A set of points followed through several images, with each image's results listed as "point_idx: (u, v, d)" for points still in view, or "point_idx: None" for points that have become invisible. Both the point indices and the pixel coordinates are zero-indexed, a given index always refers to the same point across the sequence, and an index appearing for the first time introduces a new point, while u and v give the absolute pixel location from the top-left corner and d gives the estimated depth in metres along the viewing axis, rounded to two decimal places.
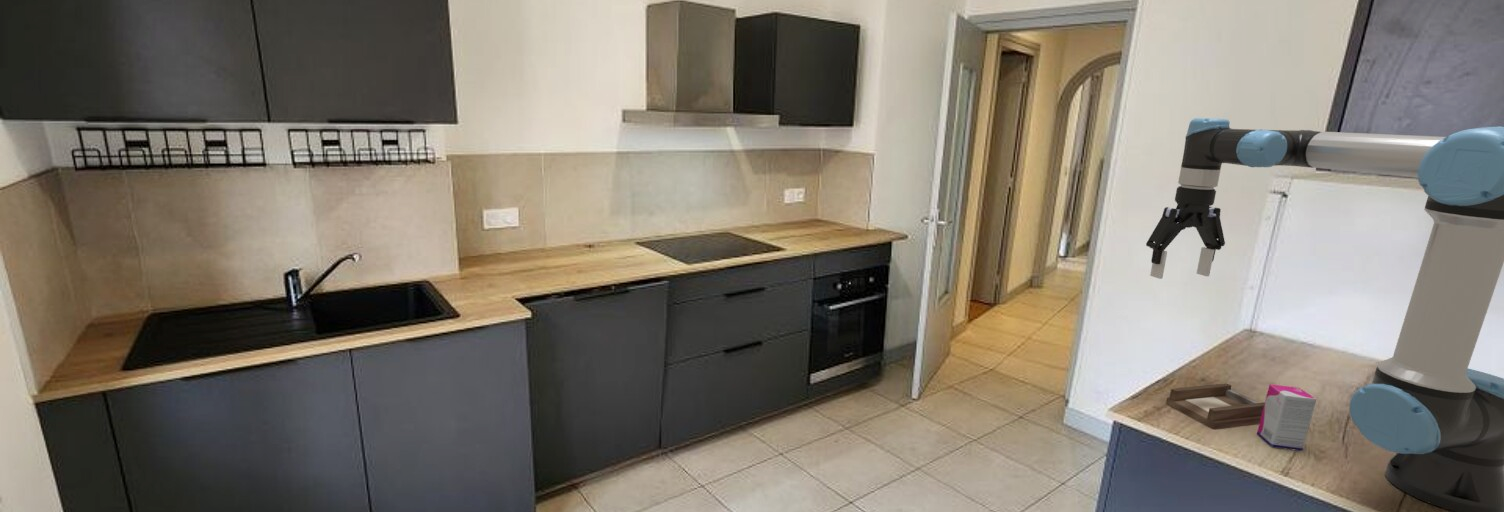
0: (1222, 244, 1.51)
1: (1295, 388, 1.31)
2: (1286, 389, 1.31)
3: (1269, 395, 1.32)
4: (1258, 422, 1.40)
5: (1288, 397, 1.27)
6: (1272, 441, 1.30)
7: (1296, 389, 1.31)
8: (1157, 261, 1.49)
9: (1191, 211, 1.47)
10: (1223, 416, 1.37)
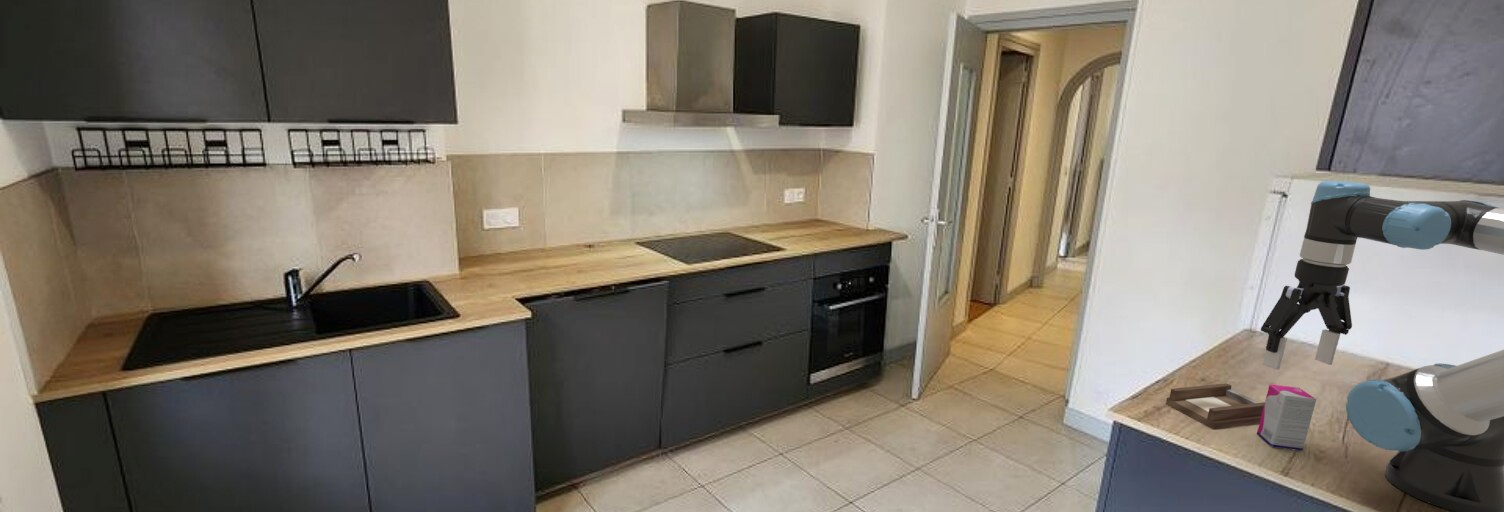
0: (1349, 327, 1.28)
1: (1295, 388, 1.31)
2: (1286, 389, 1.31)
3: (1269, 395, 1.32)
4: (1258, 422, 1.40)
5: (1288, 397, 1.27)
6: (1272, 441, 1.30)
7: (1296, 389, 1.31)
8: (1274, 349, 1.25)
9: (1317, 291, 1.23)
10: (1223, 416, 1.37)
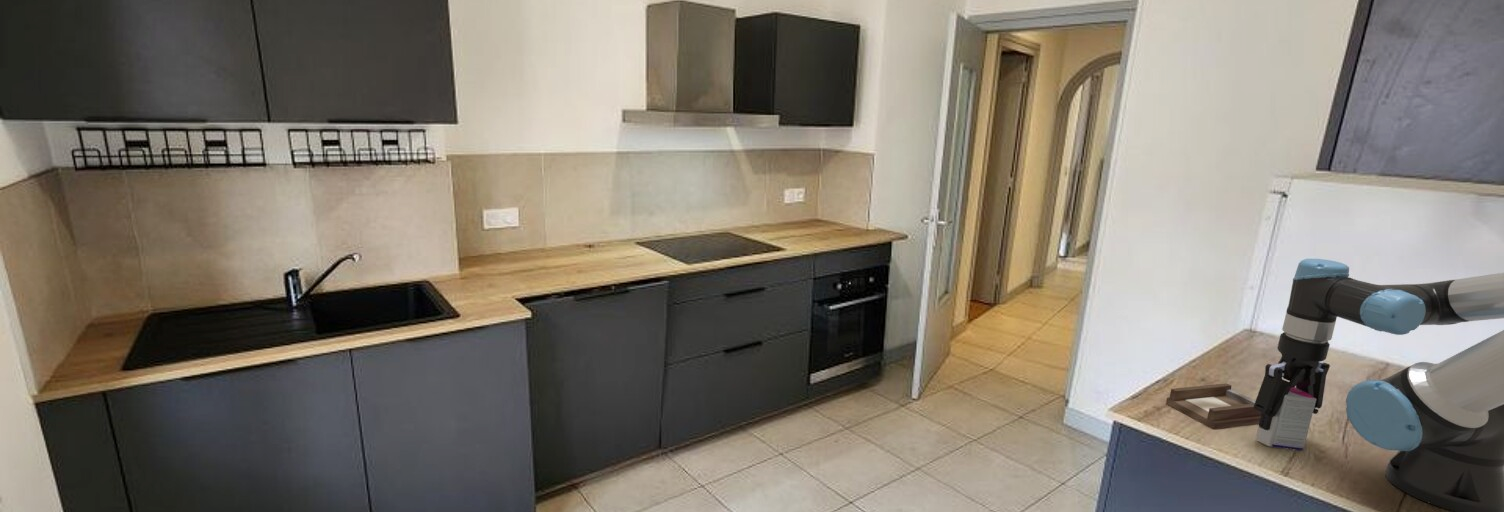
0: (1319, 406, 1.31)
1: (1295, 388, 1.31)
2: None
3: None
4: (1258, 422, 1.40)
5: (1288, 397, 1.27)
6: None
7: (1296, 389, 1.31)
8: (1267, 427, 1.29)
9: (1299, 363, 1.27)
10: (1223, 416, 1.37)
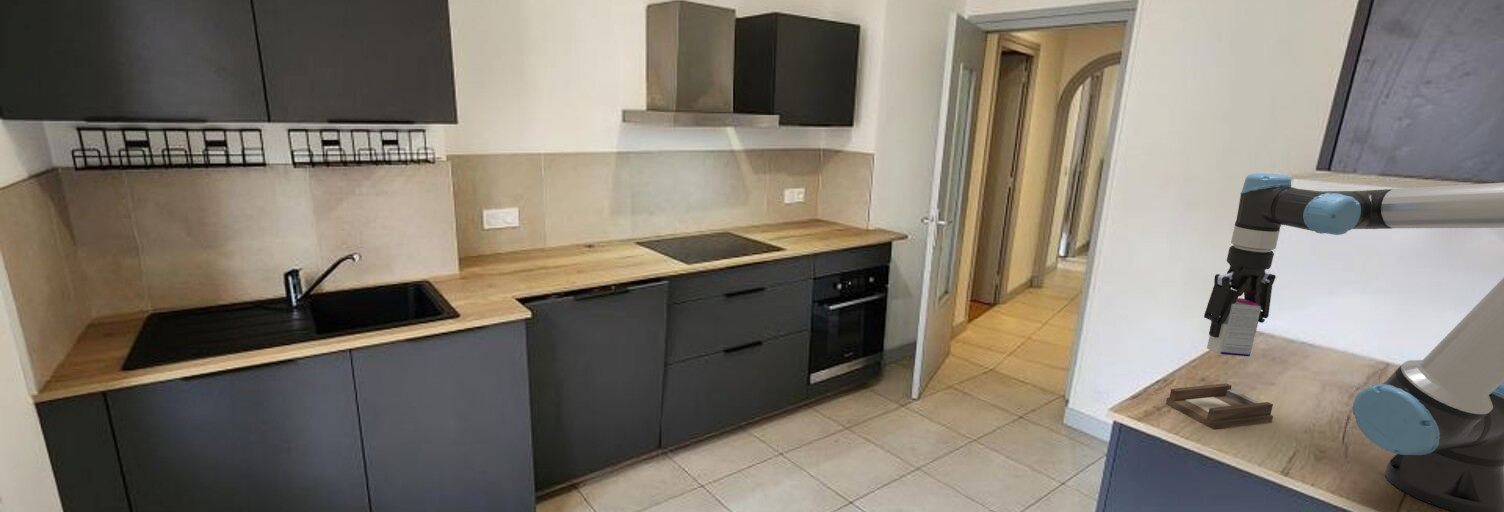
0: (1265, 316, 1.39)
1: (1243, 299, 1.39)
2: None
3: None
4: (1258, 422, 1.40)
5: (1235, 305, 1.35)
6: None
7: (1244, 300, 1.38)
8: (1216, 334, 1.37)
9: (1245, 272, 1.34)
10: (1223, 416, 1.37)
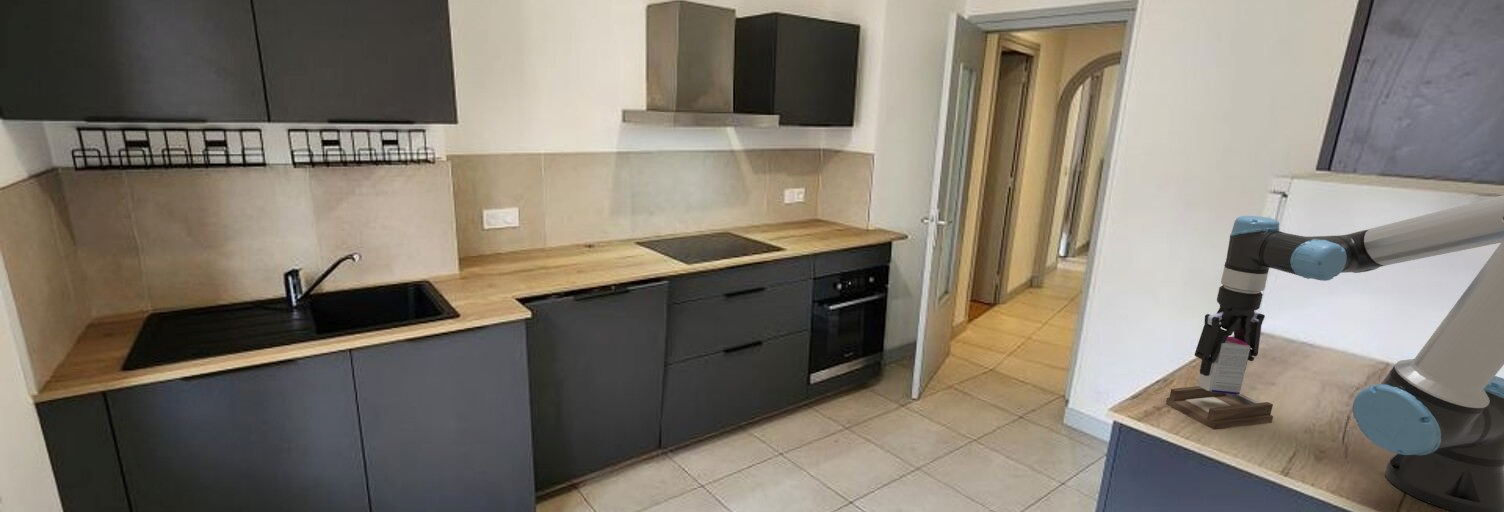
0: (1255, 354, 1.41)
1: (1233, 337, 1.41)
2: None
3: None
4: (1258, 422, 1.40)
5: (1224, 345, 1.38)
6: None
7: (1233, 338, 1.41)
8: (1207, 373, 1.40)
9: (1235, 312, 1.37)
10: (1223, 416, 1.37)
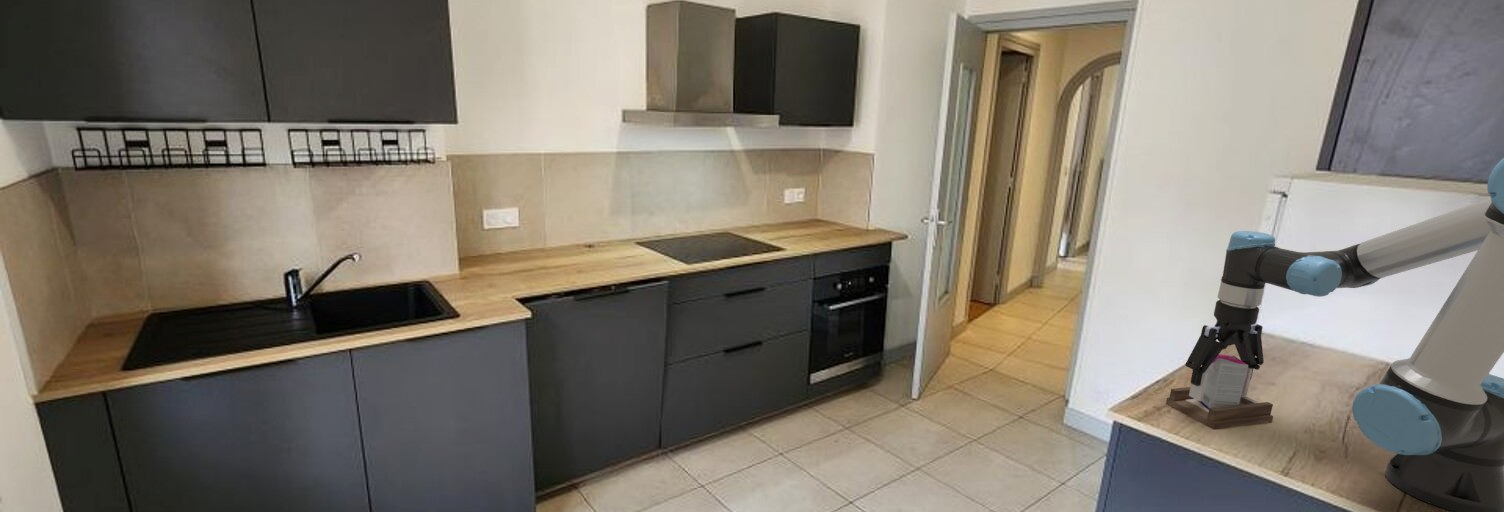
0: (1261, 363, 1.42)
1: (1230, 356, 1.43)
2: (1222, 357, 1.42)
3: None
4: (1258, 422, 1.40)
5: (1223, 363, 1.39)
6: (1210, 405, 1.41)
7: (1231, 357, 1.42)
8: (1197, 383, 1.40)
9: (1232, 328, 1.38)
10: (1223, 416, 1.37)
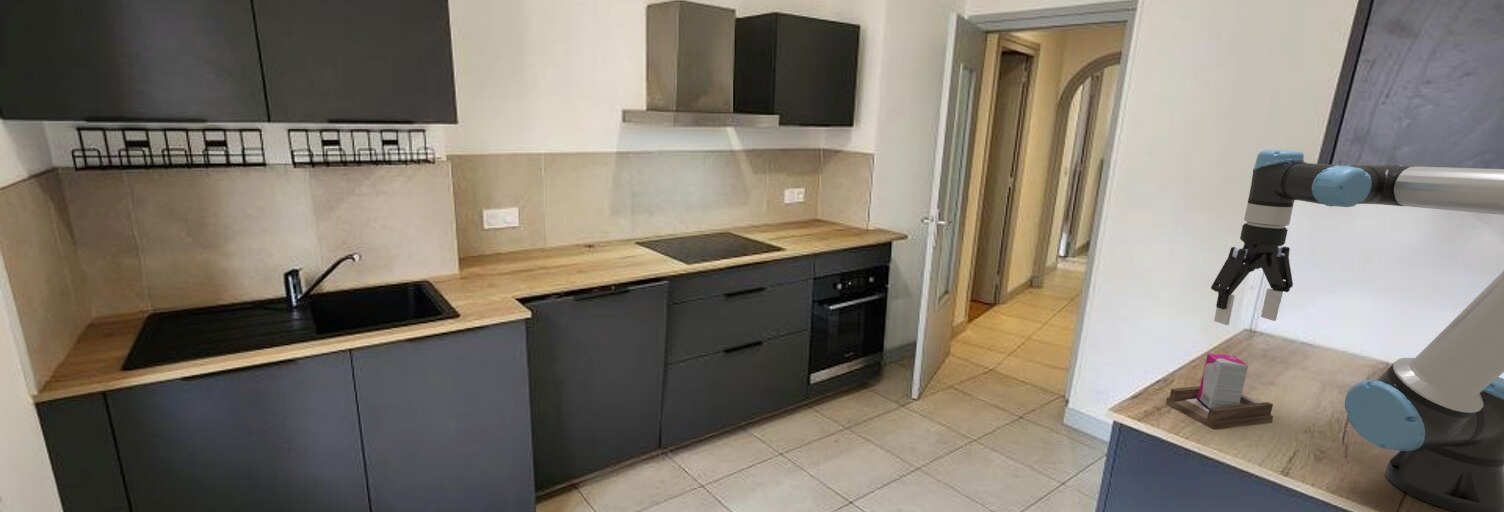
0: (1290, 286, 1.39)
1: (1230, 356, 1.43)
2: (1222, 357, 1.42)
3: (1207, 363, 1.44)
4: (1258, 422, 1.40)
5: (1223, 364, 1.39)
6: (1210, 405, 1.41)
7: (1231, 357, 1.42)
8: (1224, 306, 1.36)
9: (1260, 251, 1.34)
10: (1223, 416, 1.37)
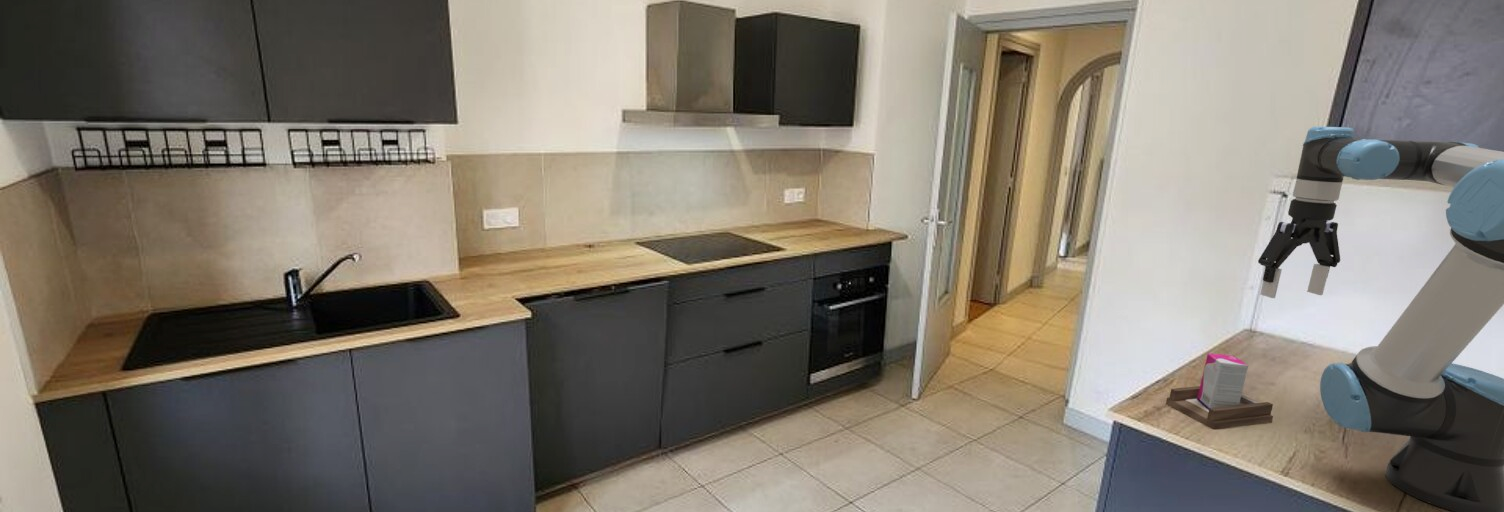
0: (1337, 261, 1.42)
1: (1230, 356, 1.43)
2: (1222, 357, 1.42)
3: (1207, 363, 1.44)
4: (1258, 422, 1.40)
5: (1223, 364, 1.39)
6: (1210, 405, 1.41)
7: (1231, 357, 1.42)
8: (1270, 279, 1.39)
9: (1308, 226, 1.37)
10: (1223, 416, 1.37)
